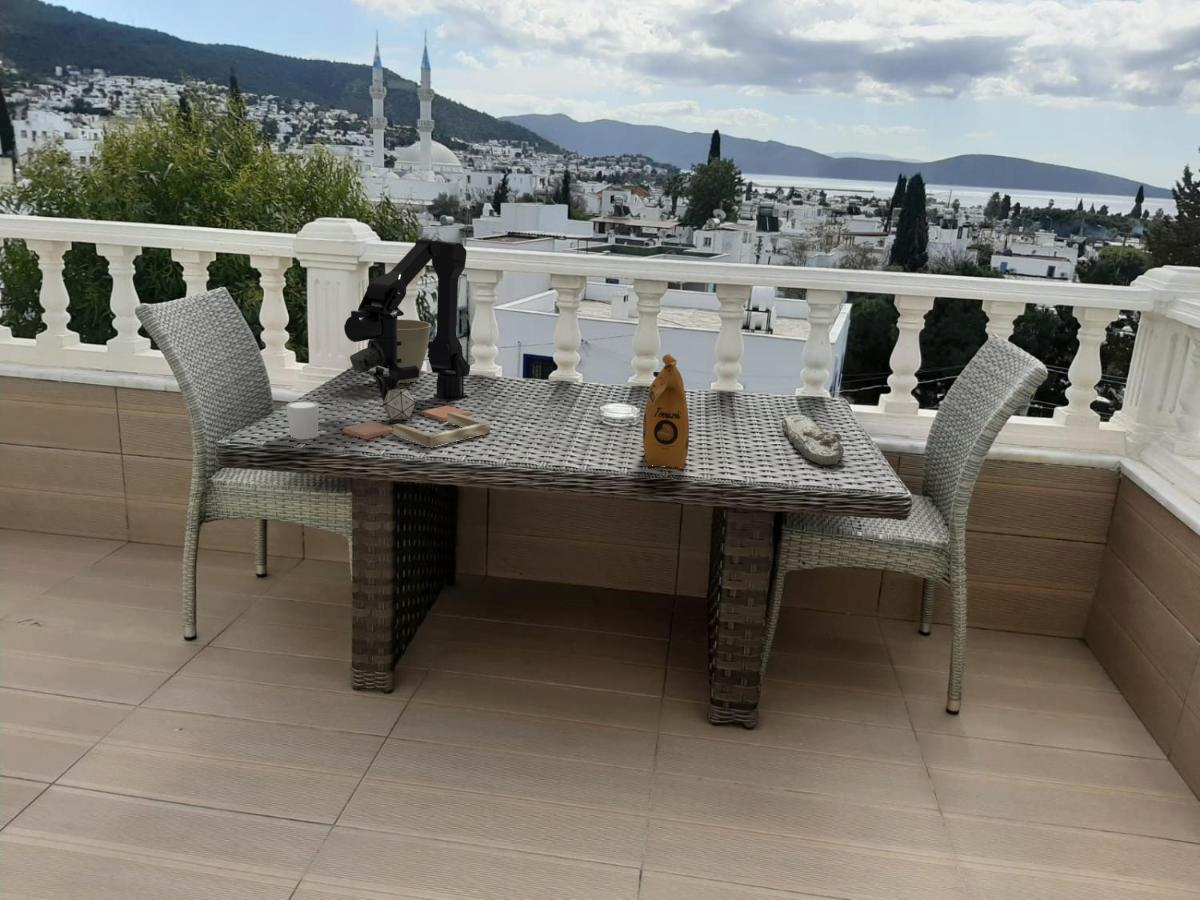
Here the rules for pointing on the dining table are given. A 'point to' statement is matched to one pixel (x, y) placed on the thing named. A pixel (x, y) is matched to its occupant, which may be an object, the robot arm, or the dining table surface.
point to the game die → (398, 404)
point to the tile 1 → (368, 430)
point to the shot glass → (303, 419)
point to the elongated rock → (813, 440)
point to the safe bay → (468, 430)
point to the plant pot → (413, 343)
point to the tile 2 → (442, 412)
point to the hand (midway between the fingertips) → (385, 401)
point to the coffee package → (666, 419)
